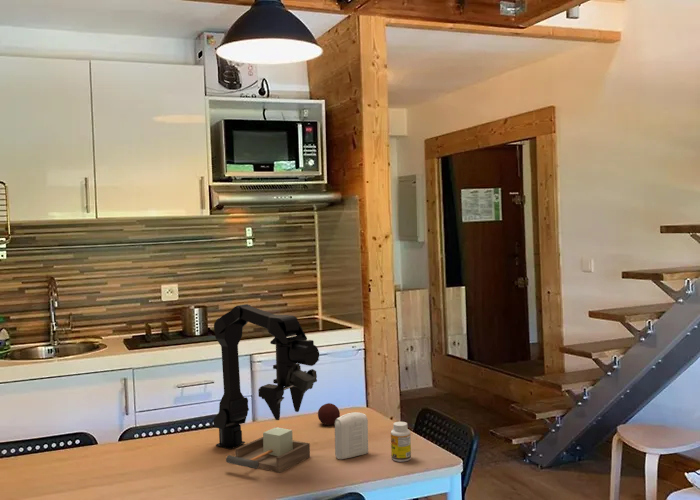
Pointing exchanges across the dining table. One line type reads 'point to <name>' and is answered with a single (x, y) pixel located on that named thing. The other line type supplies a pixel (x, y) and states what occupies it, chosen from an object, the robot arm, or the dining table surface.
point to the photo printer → (351, 435)
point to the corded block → (268, 447)
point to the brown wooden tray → (271, 461)
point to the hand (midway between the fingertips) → (287, 415)
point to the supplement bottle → (400, 442)
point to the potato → (328, 414)
